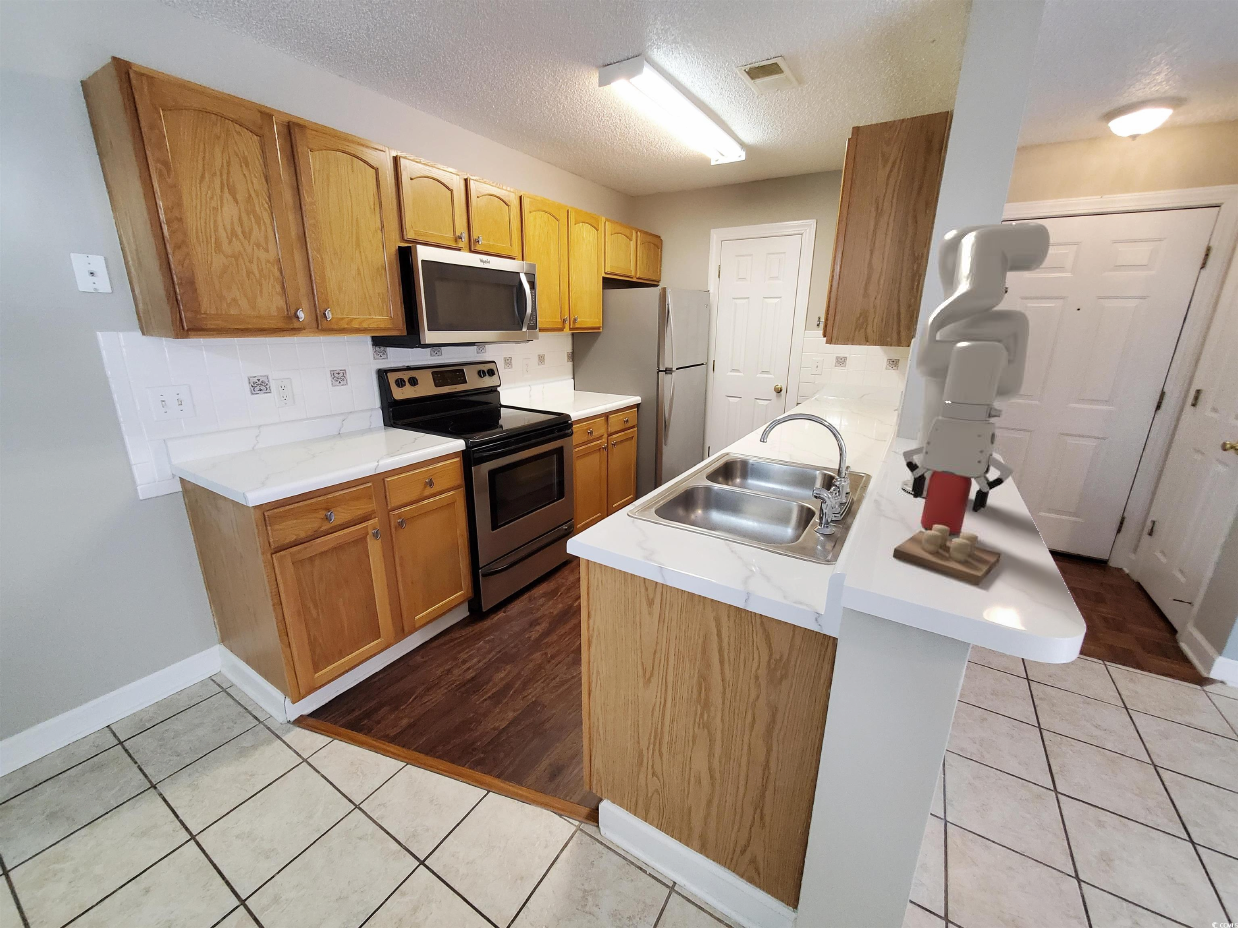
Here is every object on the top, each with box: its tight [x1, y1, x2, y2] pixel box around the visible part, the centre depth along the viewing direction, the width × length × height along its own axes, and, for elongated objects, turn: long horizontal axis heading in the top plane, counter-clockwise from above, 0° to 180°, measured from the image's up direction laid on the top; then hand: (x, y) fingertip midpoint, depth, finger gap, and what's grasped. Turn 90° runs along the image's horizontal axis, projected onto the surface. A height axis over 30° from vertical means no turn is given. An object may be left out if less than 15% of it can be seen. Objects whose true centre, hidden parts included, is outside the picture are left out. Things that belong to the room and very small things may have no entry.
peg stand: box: [892, 525, 1002, 586], centre depth 80 cm, size 12×12×4 cm
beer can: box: [920, 471, 973, 536], centre depth 92 cm, size 7×7×12 cm
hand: (946, 503), depth 91 cm, fingers open, 9 cm apart
